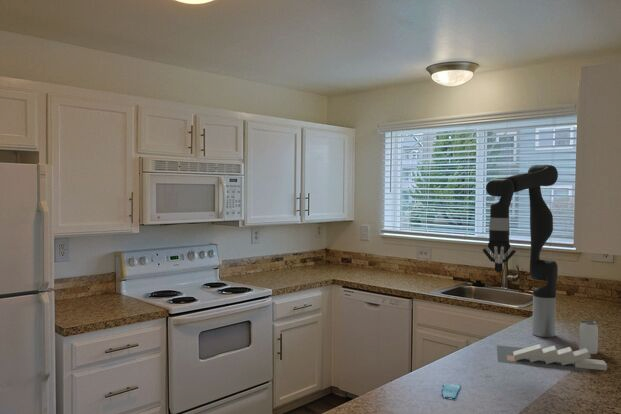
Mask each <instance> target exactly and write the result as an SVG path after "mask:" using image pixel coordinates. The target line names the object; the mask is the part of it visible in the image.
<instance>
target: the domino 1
mask: <svg viewBox="0 0 621 414" xmlns="http://www.w3.org/2000/svg"><path fill="white" fill-rule="evenodd" d="M523 348H524V349H521V350H517V351H514V352H513V354H514V357H515V359H516V361H517V360H520V359H524V358H527V357H531V356H535V355H538V354H542V353H543V351H542V349H543V348H542V346H541V344H540V343H538V344H535V345H532V346H528V347H523Z"/></svg>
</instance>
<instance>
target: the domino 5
mask: <svg viewBox="0 0 621 414" xmlns="http://www.w3.org/2000/svg"><path fill="white" fill-rule="evenodd" d="M573 364H574V366H575V367H578V368H587V369H588V370H589V369H590V370H600V371H608V364H607V363H606V362H605V360H601V359H592V358H587V359H583V360H580V361H576V362H573Z"/></svg>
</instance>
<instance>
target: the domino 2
mask: <svg viewBox="0 0 621 414" xmlns="http://www.w3.org/2000/svg"><path fill="white" fill-rule="evenodd" d="M542 351H543V353H542V354H538V355H535V356H531V357H529V360H530V362H534V361H538V360H541V359H545V358H548V357H552V356H555V355H558V352H557V348H556V346H555V345H552V346H547V347H545V348H542Z"/></svg>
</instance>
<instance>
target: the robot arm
mask: <svg viewBox="0 0 621 414" xmlns="http://www.w3.org/2000/svg"><path fill="white" fill-rule="evenodd" d="M558 177H559V173H558V169H557V167H555V166H554V165H552V164H533V165H532V164H531V165H530V166H529V168H528V170H527V172H524V173H523V172H522V173H517V174H513V175H509V176H505V177H497V178H496V177H495V178H492V179H490V180H489V181H488V182H487V183H486V186H485V191H486V193H487V194H488V195H490V196H491V197H499V201H497V202H493V203H492V204H490V208H489V209H490V211H489V212H490V213H489V214H490V215H489V224H488V225H489V226H488V228H489V230H488V231H489V233H488V234H489V235H488V237H489V238H488V243H487V246H485V247H484V248H482V252H483V254H484V255H485V256H486V257H487V258H488V260H489V261H490V262H493V263H494V271H495V272H496V274H497V273H498V274H500V273H502V272H503V264H504V263H507V262H508V261H509V260H510V259H511V258H512V257H513V256H514V254H515V253H516V250H515V249H514V248H512V246H511V243H510V229H511V227H510V206H511V203H512V199H513V197H514V196H513V195H514V193H518V192H521V191H524V190H525V191H526V190H528V197H529V198H528V199H529V231H530V232H529V233H530V255H529V275H530V277H531V279H532V280H533V281H534V280H535V281H541V282H546V284H545V285H543V286H540V287H536V288H534V289H533V290H532V324H531V327H532V328H531V333H532V335H534V336H536V337H541V338H554V337H555V336H556V312H557V310H556V303H557V302H556V301H557V300H556V299H557V286H558V285H557V282H558V272H559V271H558V270H559V269H558V267H559V266H558V264H557V261H554V260H550V259H540V258H541V257H540V255H541V251H542V249H543V247H544V245H545V244H546V242H547V241H548V240H549V239H550V237H551V235H552V234H553V232H554V218H553V217H554V216H553V214H552V211H551V210H550V208H549V206H548V205H547V203H546V202H545V200H544V197H543V196H542V189H541V187H550V186H553V185H555V184H556V182H557V181H558V179H559V178H558ZM489 251H490V252H491V253H492V254H493V255H494V257H493V256H492V255H491V254H490V253H489ZM507 252H508V254H507V255H506V256H505V257H504V255H505V254H506V253H507ZM498 256H499V258H498Z"/></svg>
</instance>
